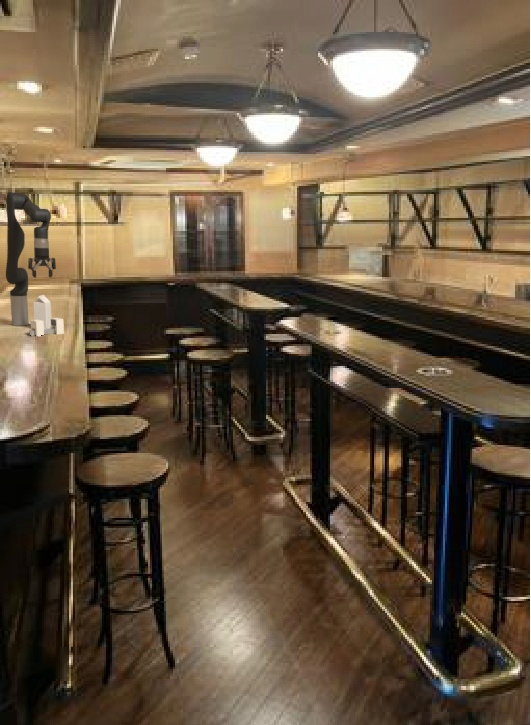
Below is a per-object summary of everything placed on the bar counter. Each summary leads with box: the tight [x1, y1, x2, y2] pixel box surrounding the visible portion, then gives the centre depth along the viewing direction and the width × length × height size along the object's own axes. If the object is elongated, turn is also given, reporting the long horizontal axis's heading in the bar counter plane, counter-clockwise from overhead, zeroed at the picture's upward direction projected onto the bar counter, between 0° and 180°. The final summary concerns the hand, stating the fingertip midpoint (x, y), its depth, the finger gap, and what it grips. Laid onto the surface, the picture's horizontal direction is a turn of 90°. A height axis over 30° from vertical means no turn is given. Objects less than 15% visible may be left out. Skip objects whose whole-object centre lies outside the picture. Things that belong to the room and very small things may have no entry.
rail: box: [29, 328, 56, 337], centre depth 335 cm, size 2×17×3 cm, turn 134°
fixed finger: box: [51, 317, 65, 335], centre depth 339 cm, size 7×4×8 cm, turn 44°
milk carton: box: [33, 294, 53, 329], centre depth 353 cm, size 7×7×19 cm
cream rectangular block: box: [30, 319, 45, 337], centre depth 332 cm, size 7×4×8 cm, turn 44°
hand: (42, 277), depth 335 cm, fingers open, 8 cm apart
